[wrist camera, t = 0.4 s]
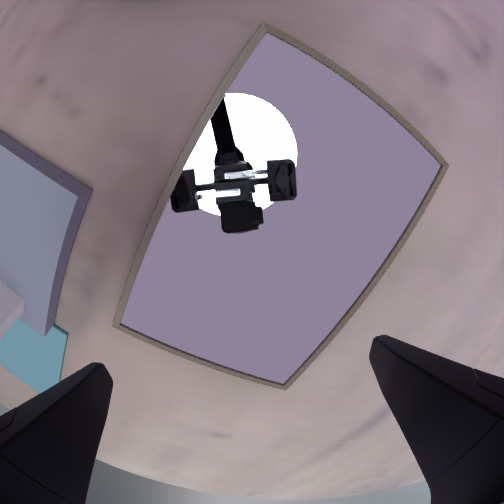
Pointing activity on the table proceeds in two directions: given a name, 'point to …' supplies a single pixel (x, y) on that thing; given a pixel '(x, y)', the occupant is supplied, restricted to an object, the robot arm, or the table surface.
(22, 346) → the mat
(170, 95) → the table surface
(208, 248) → the picture frame
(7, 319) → the white flat block
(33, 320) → the plate
